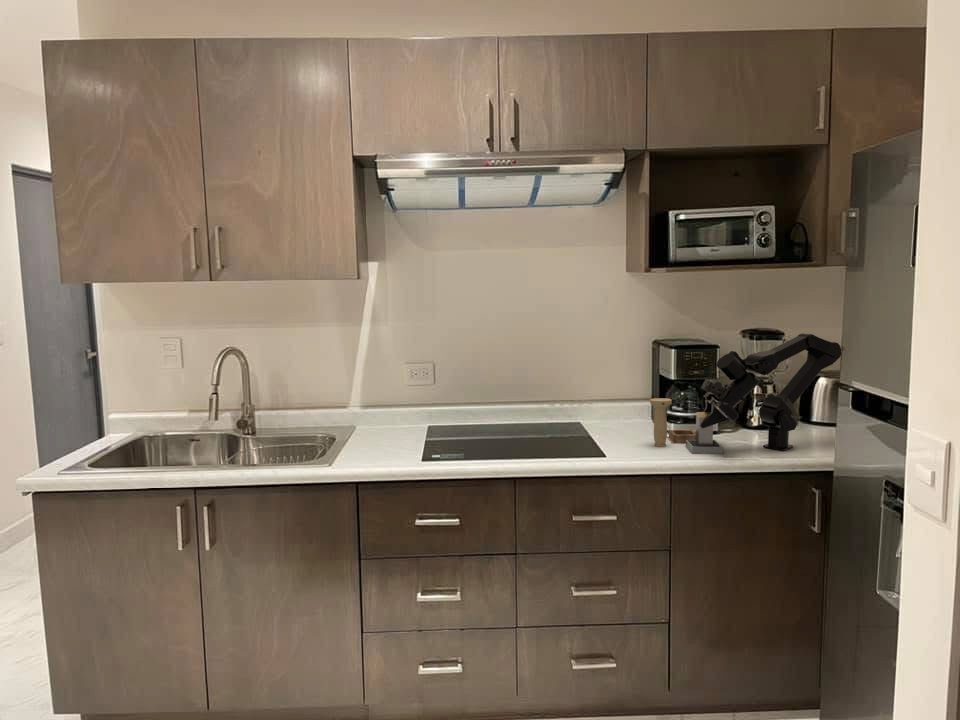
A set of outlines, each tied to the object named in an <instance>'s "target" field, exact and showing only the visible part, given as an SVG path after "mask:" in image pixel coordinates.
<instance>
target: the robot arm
mask: <svg viewBox="0 0 960 720" xmlns="http://www.w3.org/2000/svg"><path fill="white" fill-rule="evenodd" d="M804 351H806V352H807V353H806V354H807V355H806V361H805V362H804V364H803V365H802V366H801V367H800V368H799V369H798V371H797V372H796V373H795V374H794V376H793V377H792V378H791V379H790V380H789V381H788V383H786V386H785V387H784V388H783V389H782V390H781V392H780V393H779V394H776V395H772V394H769V395H768V396H766V398H765V400H764V401H763V402H761V403H760V407H759V408H758V409H759V410H758V412H759V414H758V415H759V417H760V419H761V420H760V421H761V423H762V426H763V427H764V426H765V427H768V432H767V434H768V435H767V443H765V444H764V445H762V447H763V448H767V449H772V450H778V451H787V450H789V449H791V448H793V447H794V446H793V445H791V444H789V441H790V440H789V435H790V432H792V431H794V430H796V428H797V425H798V423H797V421H796V420H795V419H794V418H793V416H792V415H793V412H794V404H795V403H796V401H798V399H799V398H800V397H801V396H802V394H803V393H804V392H805V390H806V389H807V388H808V387H809V386H810V385H811V383H812V382H813V381H814V380H815V379H816V377H817V376H818V375H819V373H821V371H822V370H824V369H826V368H828V367H830V366H832V365H834V364H835V363H836V362H837V361H838V360H840V358H841V357H842V354H841V353H842V352H841V351H842V347H841V344H839V343H838V342H835V341H829V340H826V339H823V338H821V337H819V336H817V335H814V334H813V333H804V332H802V333H799V334H798V335H797V336H795V337H793V338H791V339H789V340H787V341H785V342H783V343H780V345H777V346H775V347H773V348H772V349H769V350H763V351H757V352H754V353H751V354H748V355H747V357H745V358H743V359H742V357H740V355H739V353H737V351H733V350H731V351H729V353H726V354H724V355H722V356H721V357H719V359H718V360H717V361H716V368H718V369H719V371H720V372H721V373H722V374H723V375H724V376H725V377H726V378H727V379H728V380H730V381H731V382H729V383H725V384H722V382H720V381H718V380H713V381H712V380H710V379H708V378H705V379H704V381H703V383H702V386H701V387H700V389H702V390H703V391H705V394H704V395H703V398H704V399H705V400H704V403H705V408H704V410H703V411H702V412H710V414H709V415H708V416H707V418H706V419H705V420H704V421H703V423H702V424H701V425H700V426H701V427H702V428H706V427H709V426H711V425H713V426H714V425H717V424H720V423H723V422H728V421H729V420H731V422H733V423H734V422H735V421H736V420H737V419H739V415H740V414H739V412H738V411H737V410H736V408H734V407H736V406H737V404H739V403H740V402H742V403H743V402H744V401H745V400H746V398H745V397H746V396H747V395H748V394H750V393H751V391H753V390H754V389H755V388H756V387H758V388H760V390H763V389H764V382H765V381H764V379H763V378H761V377H757V376H756V375H762V376H768V375H769V374H771V373H772V372H774V371H775V370H776V369H777V368H778V366H779V365H780V364H781V363H782V362H784V361H786V360H788V359H790V358H793V356H796V355H798V354H800V353H801V352H804ZM755 374H756V375H755Z"/></svg>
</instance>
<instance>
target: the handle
mask: <svg viewBox="0 0 960 720" xmlns="http://www.w3.org/2000/svg"><path fill="white" fill-rule="evenodd" d="M672 403H673V402H672V399H671V398H665V397H664V398H663V397H662V398H661V397H660V398H658V397H657V398H656V397H655V398H650V399H649V404H650V405H651V406H653V407H654V420H653V421H654V423H653V440H654V446H655V447H657V448H664V447H666V446H667V443H666V442H667V440H668V439H667V437H668V421H667V408H668V407H669V406H671V405H672Z"/></svg>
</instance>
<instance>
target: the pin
mask: <svg viewBox="0 0 960 720" xmlns="http://www.w3.org/2000/svg"><path fill="white" fill-rule="evenodd" d="M709 414H710V412H703V411H696V412H695V432H696V445H697V446H698V447H713V440H714V439H713V438H714V425H711V426H709V427H706V428H702V427H701V426H700V425H701V424H702V423H703V421H704V420H705V419H706V418H707V416H708V415H709Z"/></svg>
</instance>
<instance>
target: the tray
mask: <svg viewBox="0 0 960 720" xmlns="http://www.w3.org/2000/svg"><path fill="white" fill-rule="evenodd" d="M685 447H686V449H687V450H688V451H689V452H690V453H691V454H692V455H723V454H724V453H723V452H724V447H723V445H721V444H720V443H719V442H718V441H717V440H716V439H713V447H698V446H697V445H696V440H686V444H685Z"/></svg>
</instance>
